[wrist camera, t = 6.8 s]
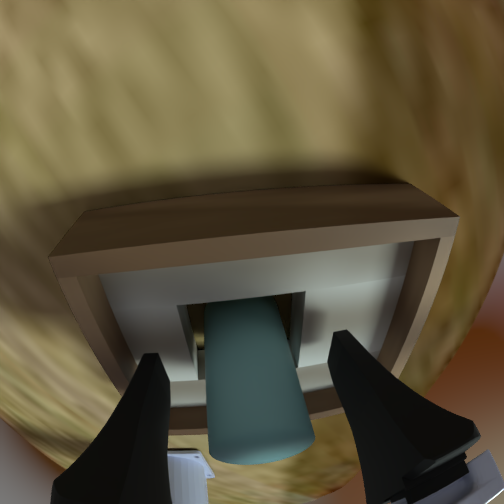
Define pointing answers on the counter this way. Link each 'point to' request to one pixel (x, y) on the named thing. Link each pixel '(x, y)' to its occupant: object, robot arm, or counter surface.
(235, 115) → the counter surface
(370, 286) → the box
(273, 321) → the peg
